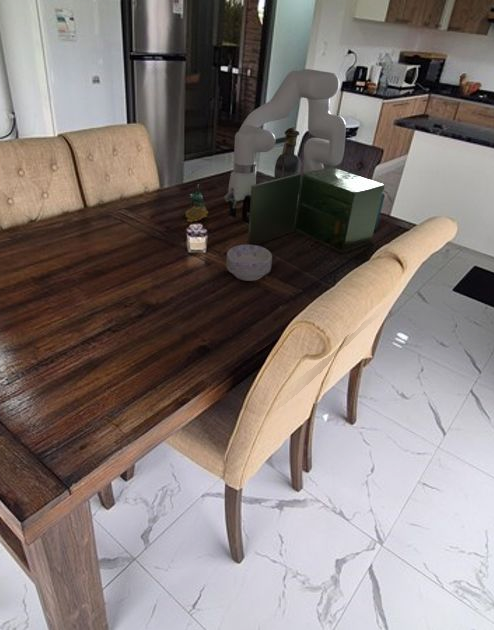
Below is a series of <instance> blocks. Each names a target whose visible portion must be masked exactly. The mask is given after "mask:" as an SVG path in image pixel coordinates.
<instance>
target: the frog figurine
mask: <svg viewBox="0 0 494 630" xmlns="http://www.w3.org/2000/svg"><path fill="white" fill-rule="evenodd" d="M199 189H200V184H198V183H197V184H196V189H195V190H194V192H192V191H189V192H188V194H189V197H190V198H191V199H190V201H191V203H190V205H189V207H191V208H189V209H188V210H187V211H185V218H187V219H186V221H187V222H189V223H192V222H198V221H200V220H202V219H205V218H207V217H208V214H209V211H208V210H207V208H206V205H205V201H203V199H204V198H203V197H204V194H203V193H202V192H201V191H199ZM192 203H193V204H194V205H193V206H192Z"/></svg>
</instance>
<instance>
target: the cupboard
mask: <svg viewBox="0 0 494 630" xmlns="http://www.w3.org/2000/svg"><path fill="white" fill-rule="evenodd" d="M383 189H384V190H385V184H383V183H382V182H378V181H375V180H372V179H369V178H366V177H362V176H360V175H357V174H354V173H351V172H349V171H346V170H342V169H339V168H336V167H334V166H330V167H324V169H320V170H315V171H310V172H305V173H303V172H301V179H300V187H299V198H298V205H297V210H296V218H295V225H294V231H293V232H296V233H298V234H300V235H303V236H304V237H306V238H308V239H311V240H313V241H315V242H317V243H319V244H320V245H322V246H325V247H327V248H329V249H332V250H333V251H336V252H337V253H339V254H342V255H343V254H346V253H348V252H351V251H354V250H357V249H359V248H361V247H364V246H367V245H370V244H371V243H372V241H373V236H374V232H375V229H374V228H375V224H376V219H377V215H378V211H379V206H380V202H381V198H382V194H384V190H383ZM336 220H337V221H340V222H342V225H341V231H340V234H335V233H334V231H335V225H336Z"/></svg>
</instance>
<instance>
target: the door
mask: <svg viewBox="0 0 494 630" xmlns="http://www.w3.org/2000/svg"><path fill="white" fill-rule="evenodd" d="M301 175H302V173H299V174H295V175H291V176H287V177H283V178H279V179H275V178H274V179H271V180H267V181H264V182H260V183H259V182H258V183H256V184H255V185H252V187H251V196H250V195H247V196H245V199H244V200H242V210H241V221H242V222H243V223H246V224H247V225H248V228H247V229H248V232H247V244H246V245H257V246H259V245H260V244H263V243H266V242H269V241H271V240H275V239H278V238H279V237H282V236H285V235H288V234H291V233H293V232H295V231H294V228H295V221H296V213H297V202H298V195H299V190H300V183H301ZM248 202H249V203H250V213H249V216H248V212H247V205H248Z"/></svg>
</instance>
